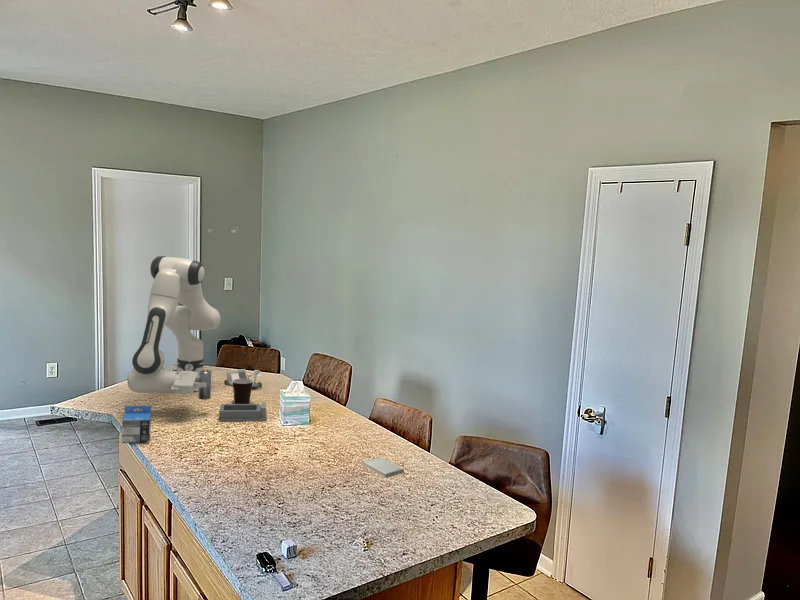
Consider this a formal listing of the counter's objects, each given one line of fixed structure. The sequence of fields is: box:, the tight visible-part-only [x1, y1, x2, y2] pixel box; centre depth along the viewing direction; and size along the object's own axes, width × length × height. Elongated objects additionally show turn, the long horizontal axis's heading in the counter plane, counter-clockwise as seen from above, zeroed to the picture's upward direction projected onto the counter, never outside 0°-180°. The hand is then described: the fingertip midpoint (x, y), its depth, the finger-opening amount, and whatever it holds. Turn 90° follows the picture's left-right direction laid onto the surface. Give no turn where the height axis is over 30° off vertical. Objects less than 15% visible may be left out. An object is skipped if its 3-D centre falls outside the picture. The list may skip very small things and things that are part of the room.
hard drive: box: [361, 456, 405, 478], centre depth 194 cm, size 2×8×12 cm
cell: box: [198, 368, 212, 401], centre depth 235 cm, size 5×5×12 cm
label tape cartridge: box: [121, 405, 152, 444], centre depth 202 cm, size 9×4×12 cm, turn 105°
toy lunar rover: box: [223, 368, 263, 389], centre depth 281 cm, size 18×10×12 cm
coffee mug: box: [232, 378, 254, 404], centre depth 256 cm, size 12×9×10 cm
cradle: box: [218, 401, 267, 423], centre depth 236 cm, size 12×18×5 cm, turn 104°
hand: (207, 382), depth 235 cm, fingers closed on cell, 5 cm apart
